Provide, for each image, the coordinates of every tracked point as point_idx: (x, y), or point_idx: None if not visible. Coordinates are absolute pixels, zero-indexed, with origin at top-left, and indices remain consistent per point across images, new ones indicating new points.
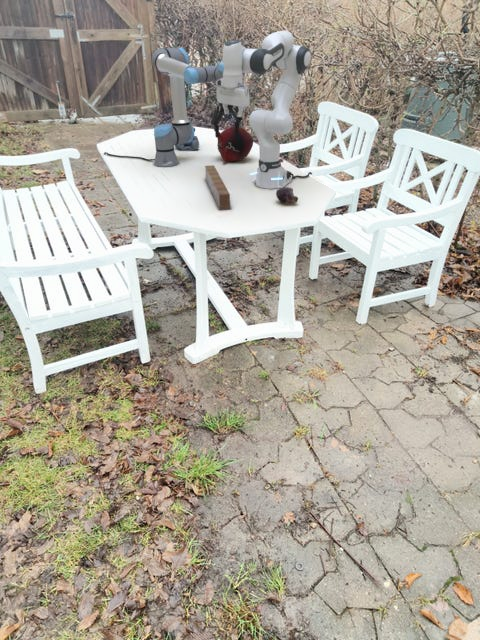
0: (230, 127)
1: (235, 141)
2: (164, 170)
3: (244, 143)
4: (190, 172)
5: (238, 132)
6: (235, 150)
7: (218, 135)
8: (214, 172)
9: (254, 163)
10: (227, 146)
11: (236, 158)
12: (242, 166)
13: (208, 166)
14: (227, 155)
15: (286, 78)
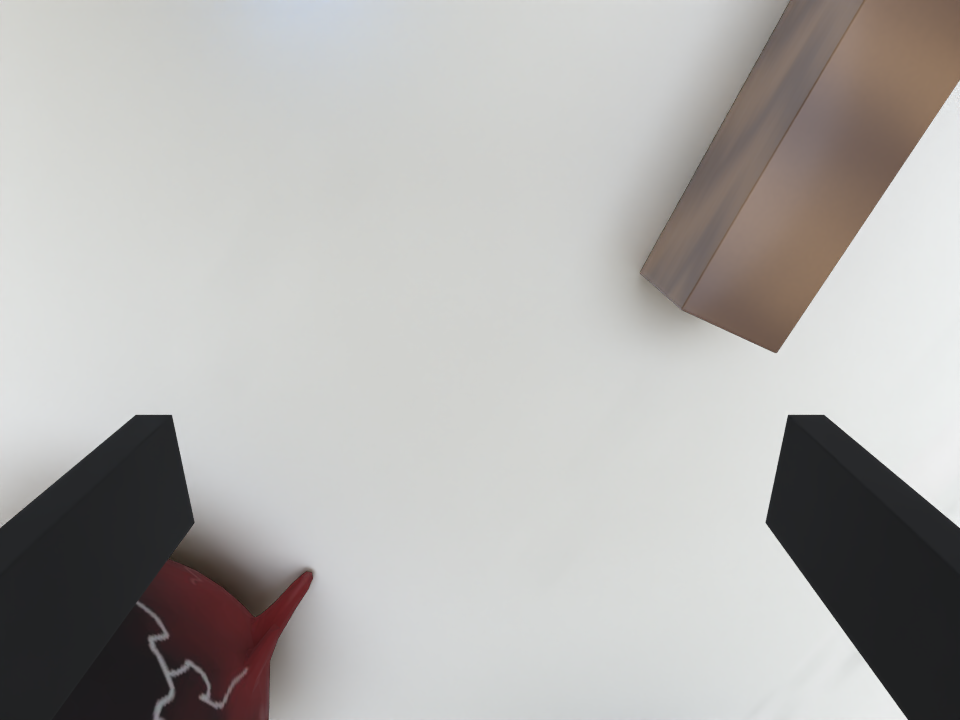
0: None
1: (84, 704)
2: (803, 691)
3: None
4: (685, 548)
5: (112, 440)
6: (149, 612)
7: (842, 447)
8: (911, 11)
9: (30, 445)
10: (206, 701)
11: (173, 562)
12: (186, 434)
13: (763, 310)
14: (243, 626)
15: None
